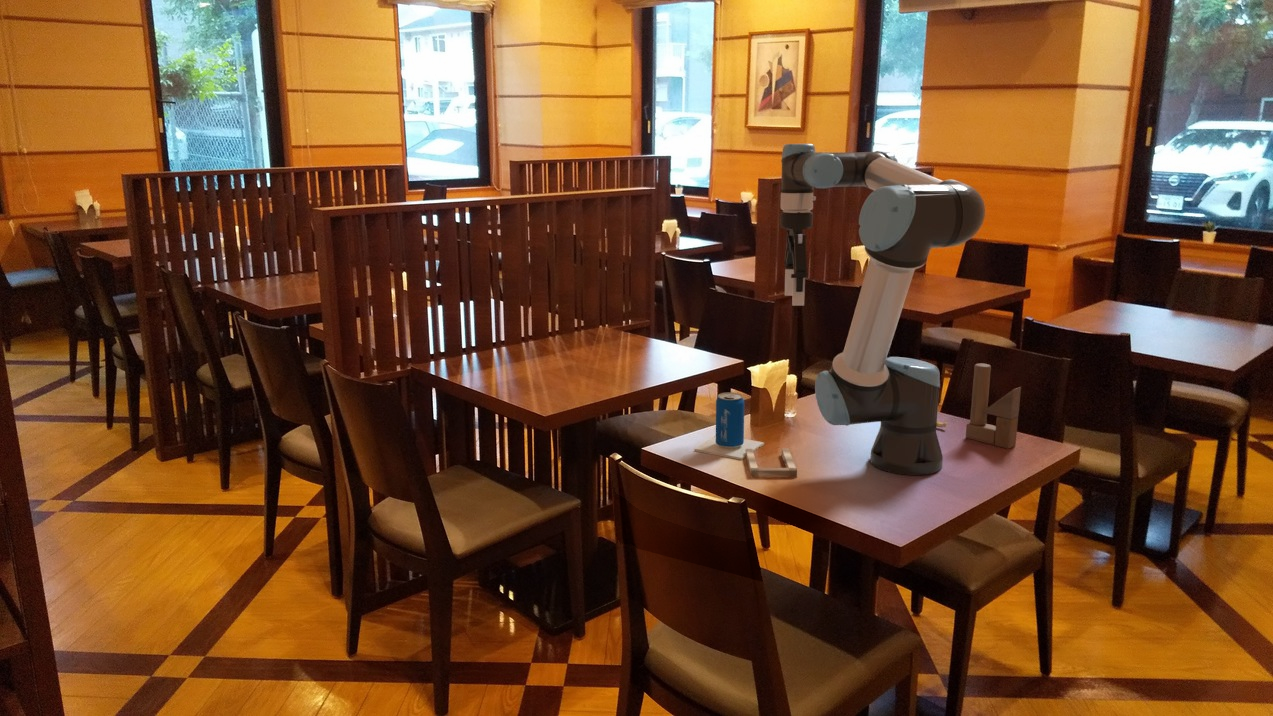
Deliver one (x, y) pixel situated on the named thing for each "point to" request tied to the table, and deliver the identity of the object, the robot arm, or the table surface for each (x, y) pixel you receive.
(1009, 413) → the wooden block
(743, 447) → the mat
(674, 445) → the table surface
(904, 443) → the robot arm
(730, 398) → the beverage can
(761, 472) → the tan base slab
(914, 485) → the table surface
